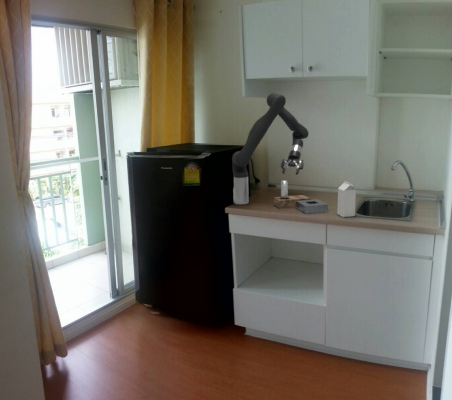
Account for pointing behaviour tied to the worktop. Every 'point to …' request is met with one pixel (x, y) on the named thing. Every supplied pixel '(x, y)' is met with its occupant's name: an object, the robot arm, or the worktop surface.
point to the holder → (312, 206)
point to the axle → (284, 189)
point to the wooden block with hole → (289, 201)
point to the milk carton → (346, 200)
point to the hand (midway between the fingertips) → (289, 173)
